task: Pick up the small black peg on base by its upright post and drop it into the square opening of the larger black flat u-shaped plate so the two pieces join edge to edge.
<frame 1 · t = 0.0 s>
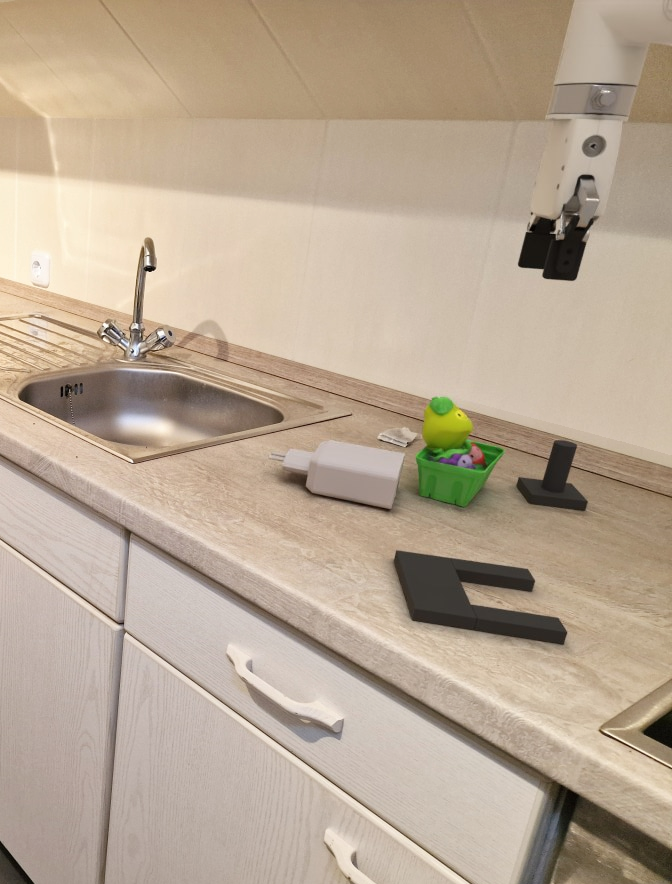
hand: (544, 273, 95), 26 cm above the worktop, tool pointing down, fingers open, 9 cm apart
black peg on base: (549, 497, 103), on the worktop
charger: (328, 487, 103), on the worktop
fruit basket: (446, 491, 104), on the worktop
black flat u-shaped plate: (471, 599, 78), on the worktop
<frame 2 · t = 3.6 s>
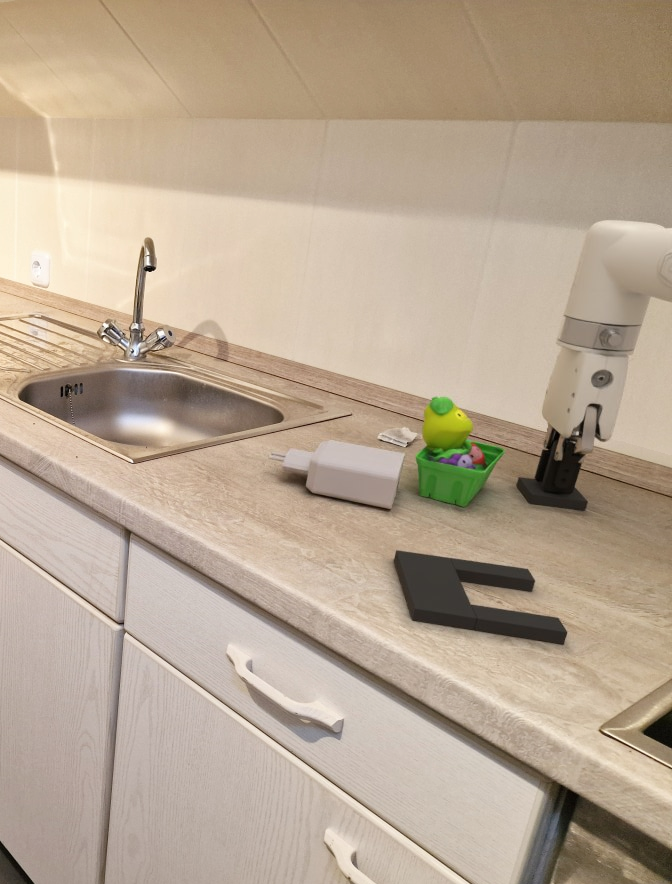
hand: (553, 485, 102), 2 cm above the worktop, tool pointing down, fingers closed on black peg on base, 2 cm apart
black peg on base: (549, 497, 103), on the worktop, touching gripper
everything else where it was.
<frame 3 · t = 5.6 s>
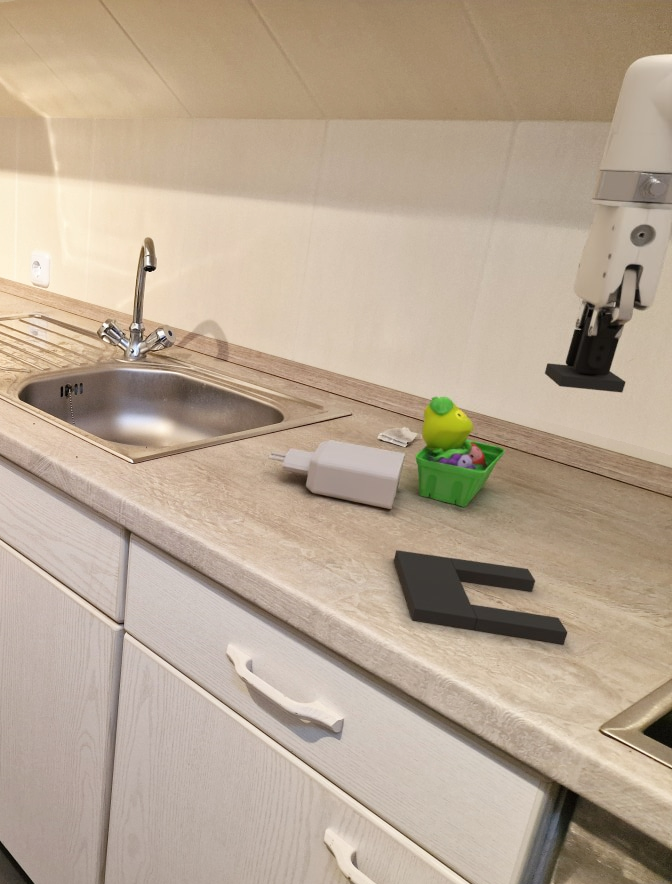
hand: (586, 368, 92), 17 cm above the worktop, tool pointing down, fingers closed on black peg on base, 2 cm apart
black peg on base: (582, 382, 93), point 15 cm above the worktop, touching gripper
everything else where it was.
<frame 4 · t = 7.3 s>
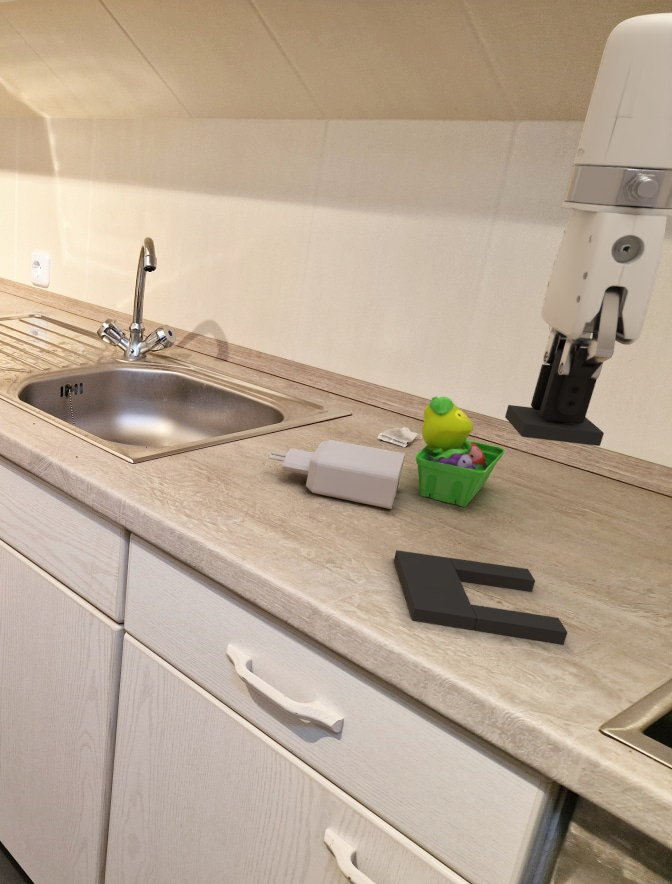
hand: (556, 414, 74), 17 cm above the worktop, tool pointing down, fingers closed on black peg on base, 2 cm apart
black peg on base: (550, 431, 74), point 16 cm above the worktop, touching gripper
everything else where it was.
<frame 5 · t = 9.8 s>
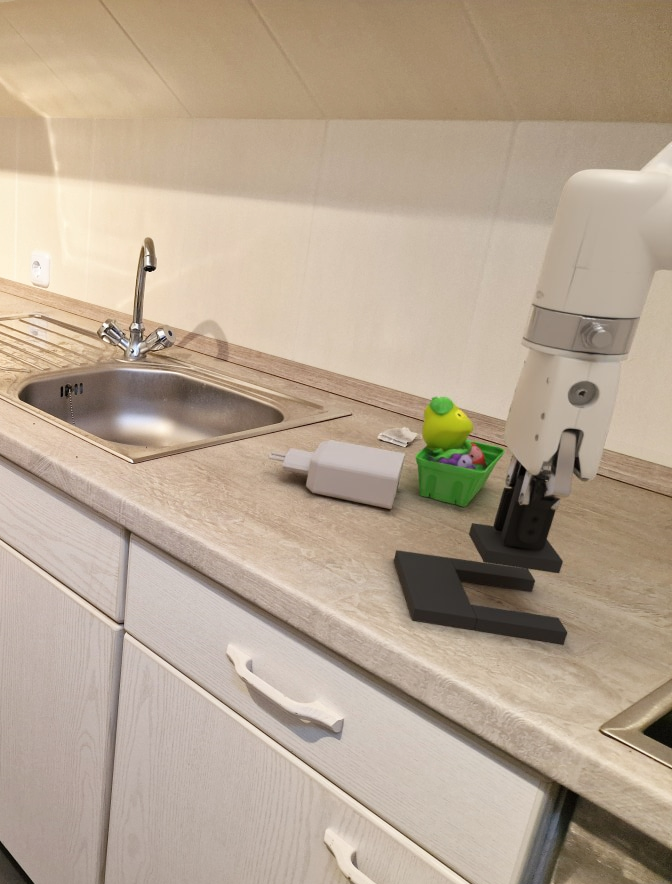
hand: (517, 537, 75), 7 cm above the worktop, tool pointing down, fingers closed on black peg on base, 2 cm apart
black peg on base: (511, 553, 76), point 5 cm above the worktop, touching gripper
everything else where it was.
when the fingers open (2 cm above the worktop, at t = 11.2 s): black peg on base stays where it is, on the worktop.
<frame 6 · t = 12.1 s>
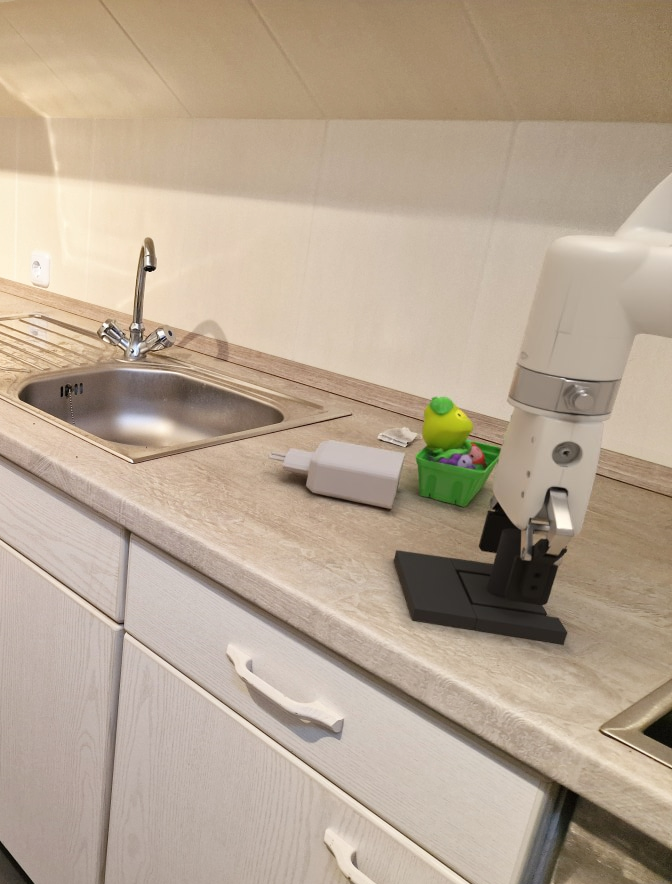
hand: (509, 575, 77), 3 cm above the worktop, tool pointing down, fingers open, 9 cm apart
black peg on base: (498, 603, 78), on the worktop
everything else where it was.
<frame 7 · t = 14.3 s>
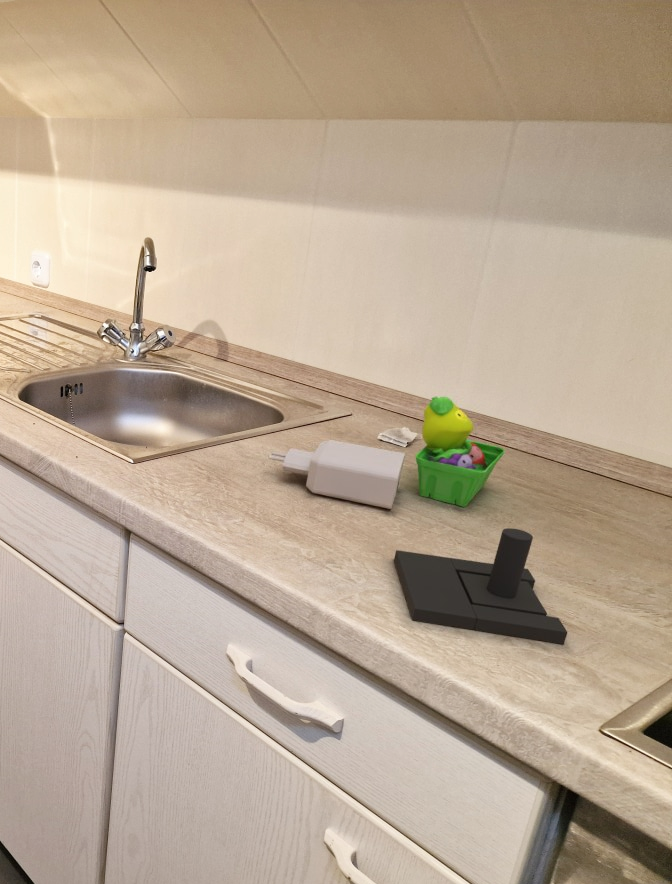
nothing on the worktop moved.
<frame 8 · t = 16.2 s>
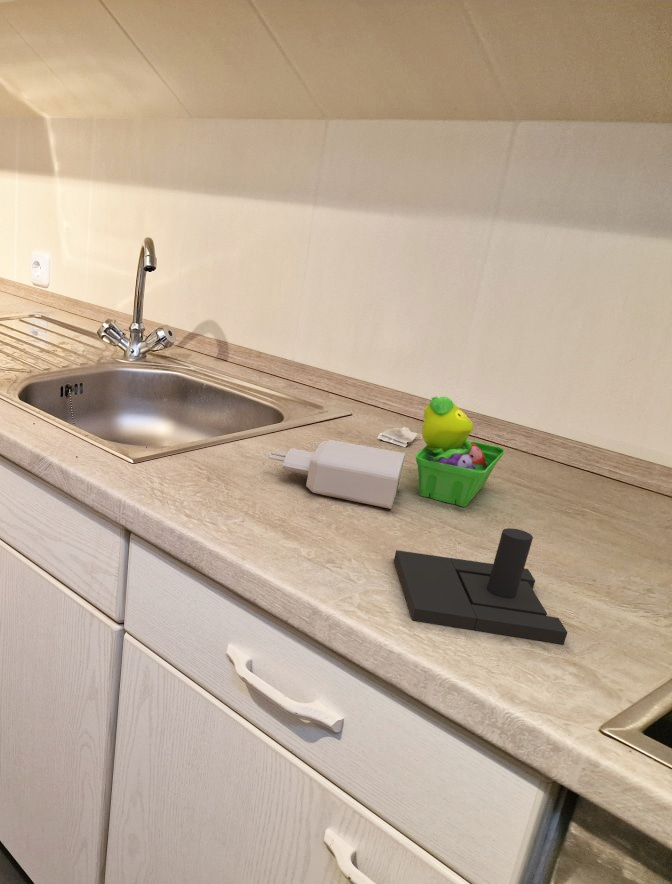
nothing on the worktop moved.
at the end: black peg on base 0.3 cm from the target spot on the black flat u-shaped plate, point 0.0 cm above the black flat u-shaped plate's base; black peg on base tilted 0°; the gripper is holding nothing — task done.
